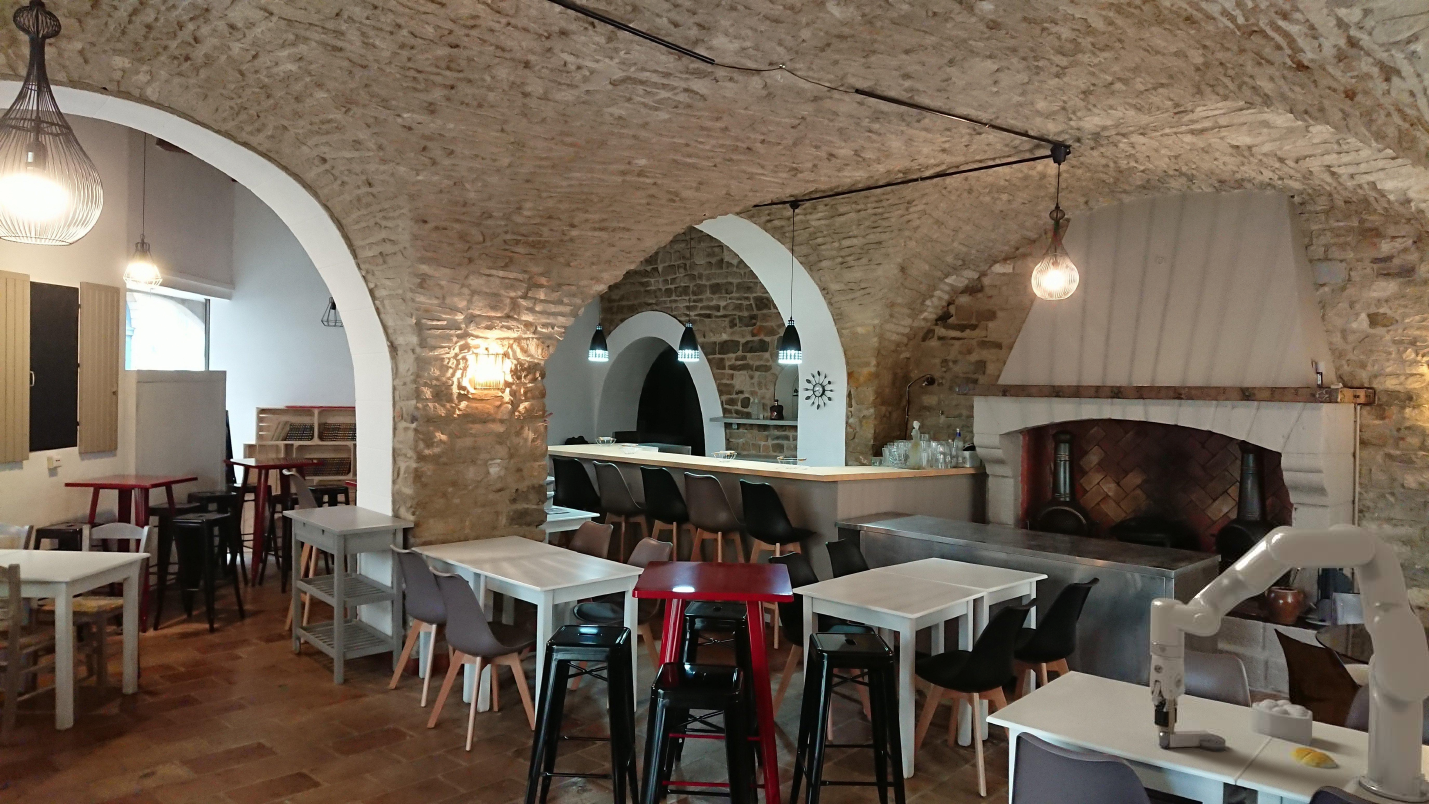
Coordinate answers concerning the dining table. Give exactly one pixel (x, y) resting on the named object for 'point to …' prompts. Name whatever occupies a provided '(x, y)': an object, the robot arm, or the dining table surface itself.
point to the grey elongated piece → (1192, 740)
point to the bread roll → (1312, 758)
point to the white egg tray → (1282, 721)
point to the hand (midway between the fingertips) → (1165, 723)
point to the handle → (1170, 713)
